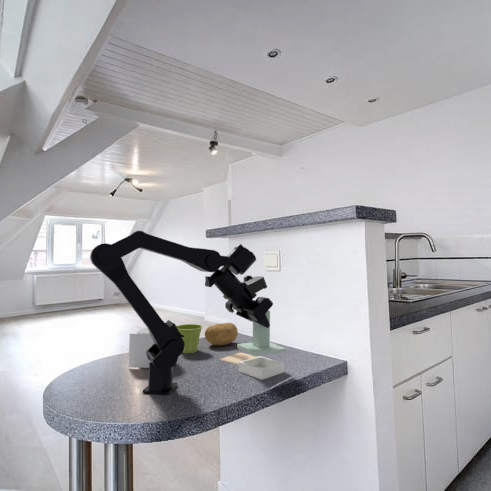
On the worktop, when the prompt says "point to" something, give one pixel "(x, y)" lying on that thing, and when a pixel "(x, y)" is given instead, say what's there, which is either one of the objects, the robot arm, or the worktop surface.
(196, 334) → the plant pot
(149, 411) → the worktop surface
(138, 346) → the toilet tissue
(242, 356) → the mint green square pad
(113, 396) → the worktop surface
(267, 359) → the dish
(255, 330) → the mint green stamp
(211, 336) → the potato
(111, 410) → the worktop surface
